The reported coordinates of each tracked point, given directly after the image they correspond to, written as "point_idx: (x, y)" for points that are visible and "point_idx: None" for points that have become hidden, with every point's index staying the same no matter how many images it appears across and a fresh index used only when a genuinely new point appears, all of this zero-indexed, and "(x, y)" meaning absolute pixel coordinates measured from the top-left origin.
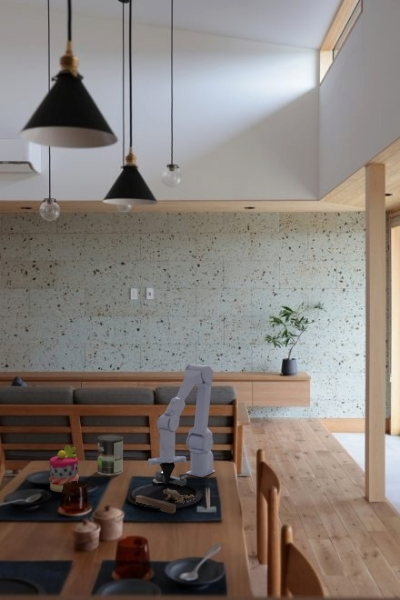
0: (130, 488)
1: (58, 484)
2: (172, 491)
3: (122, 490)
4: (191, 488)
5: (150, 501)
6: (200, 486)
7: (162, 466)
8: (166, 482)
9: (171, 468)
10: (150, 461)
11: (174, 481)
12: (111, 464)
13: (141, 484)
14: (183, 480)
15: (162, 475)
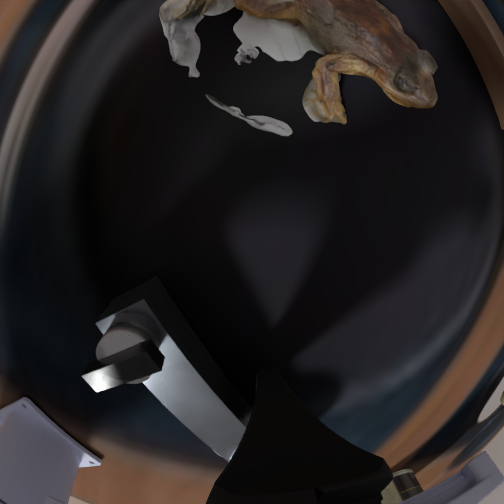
0: (452, 354)
1: None
2: (381, 12)
3: (482, 332)
4: (88, 241)
5: (493, 24)
6: (26, 262)
7: (389, 480)
8: (279, 373)
9: (265, 472)
10: (499, 476)
11: (208, 367)
12: (410, 497)
13: (383, 404)
14: (128, 307)
15: None
